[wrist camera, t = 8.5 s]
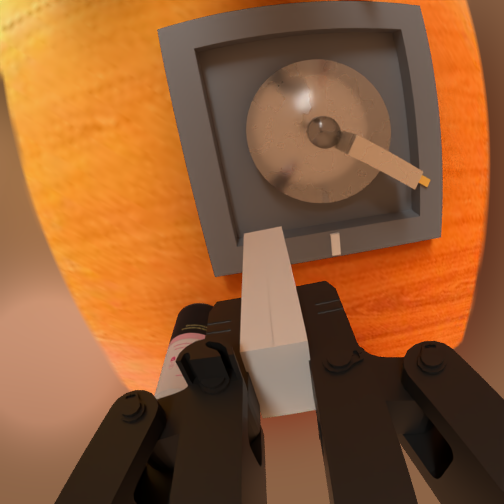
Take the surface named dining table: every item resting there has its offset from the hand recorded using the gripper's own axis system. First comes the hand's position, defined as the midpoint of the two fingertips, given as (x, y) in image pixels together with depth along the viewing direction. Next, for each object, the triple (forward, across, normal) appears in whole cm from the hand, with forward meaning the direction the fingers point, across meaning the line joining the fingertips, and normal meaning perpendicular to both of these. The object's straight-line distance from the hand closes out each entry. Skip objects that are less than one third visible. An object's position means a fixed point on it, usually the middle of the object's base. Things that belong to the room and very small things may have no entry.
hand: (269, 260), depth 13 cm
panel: (+21, +7, +2) cm, 22 cm away
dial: (+20, +7, +2) cm, 21 cm away
